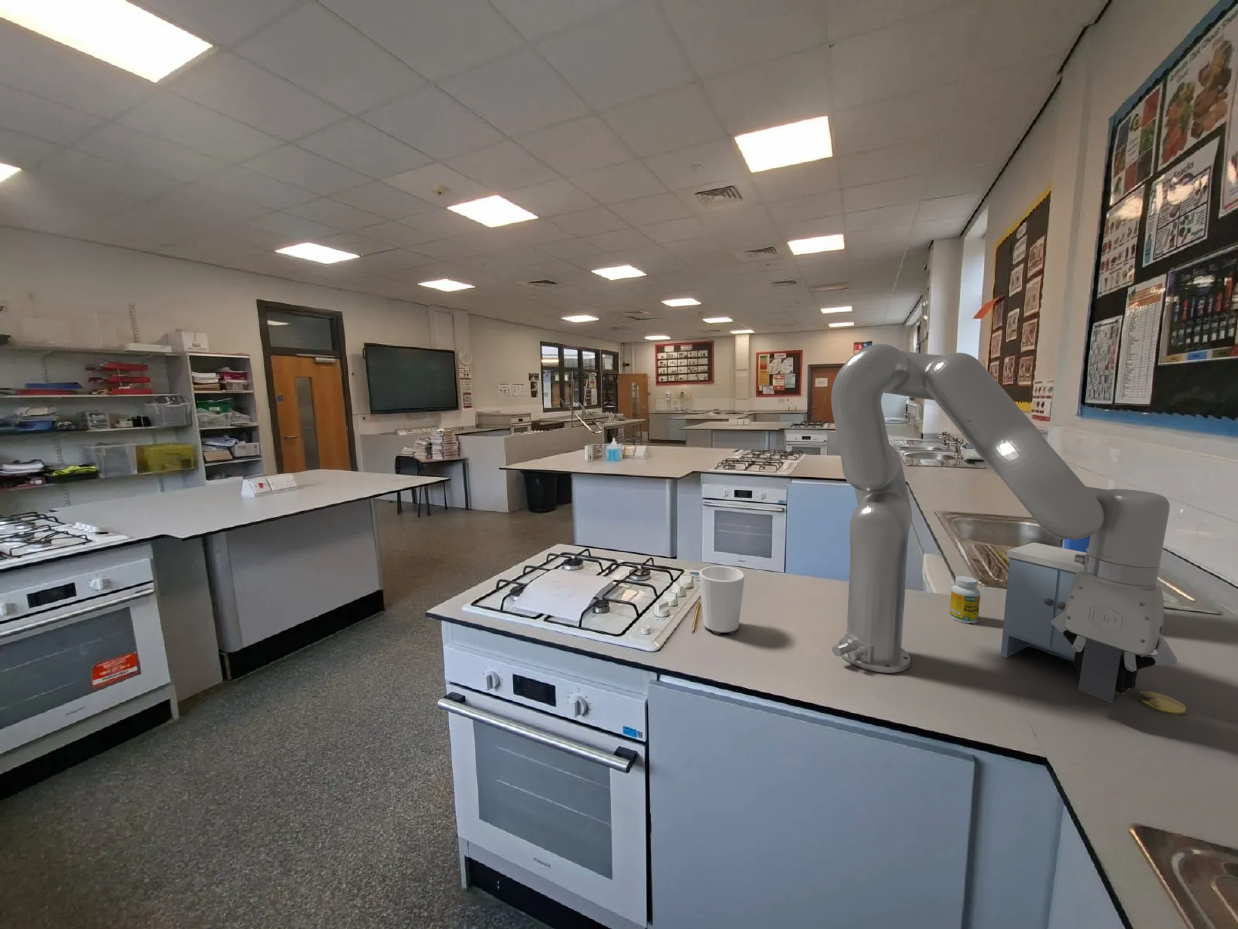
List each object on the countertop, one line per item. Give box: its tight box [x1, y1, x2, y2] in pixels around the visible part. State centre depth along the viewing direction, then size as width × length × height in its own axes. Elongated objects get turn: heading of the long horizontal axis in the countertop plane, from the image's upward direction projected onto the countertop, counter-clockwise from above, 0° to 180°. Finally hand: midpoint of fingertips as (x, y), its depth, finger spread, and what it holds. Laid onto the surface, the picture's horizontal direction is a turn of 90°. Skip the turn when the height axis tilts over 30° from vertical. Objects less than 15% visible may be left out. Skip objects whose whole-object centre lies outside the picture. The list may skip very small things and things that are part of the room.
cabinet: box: [1000, 542, 1087, 663], centre depth 87 cm, size 11×16×21 cm
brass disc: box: [1138, 690, 1187, 717], centre depth 77 cm, size 5×5×1 cm
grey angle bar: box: [1077, 638, 1143, 704], centre depth 77 cm, size 16×4×9 cm, turn 118°
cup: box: [698, 565, 746, 635], centre depth 105 cm, size 10×10×13 cm
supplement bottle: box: [949, 575, 981, 624], centre depth 108 cm, size 5×5×10 cm
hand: (1102, 681), depth 75 cm, fingers closed on grey angle bar, 4 cm apart
